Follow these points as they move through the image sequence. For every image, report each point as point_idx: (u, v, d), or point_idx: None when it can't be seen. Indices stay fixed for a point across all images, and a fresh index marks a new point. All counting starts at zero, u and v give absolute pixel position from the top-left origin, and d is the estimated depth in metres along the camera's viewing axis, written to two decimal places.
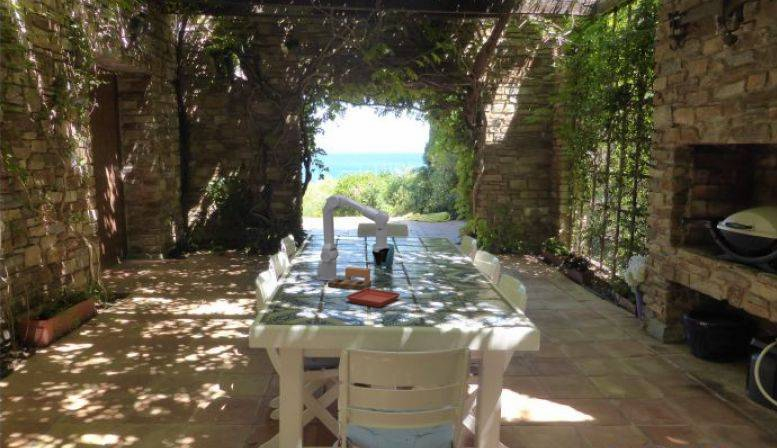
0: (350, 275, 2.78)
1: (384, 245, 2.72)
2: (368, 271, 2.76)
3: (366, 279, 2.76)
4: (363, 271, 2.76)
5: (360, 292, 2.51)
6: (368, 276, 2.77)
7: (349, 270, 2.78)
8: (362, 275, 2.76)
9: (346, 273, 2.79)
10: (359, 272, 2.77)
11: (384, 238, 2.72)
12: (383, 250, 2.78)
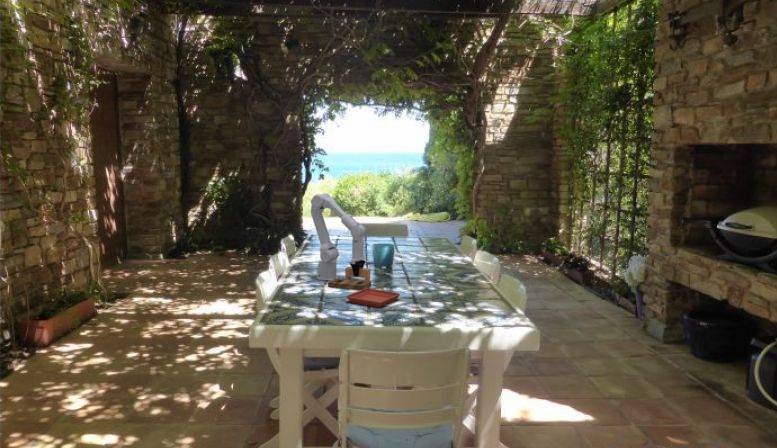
0: (350, 275, 2.78)
1: (360, 257, 2.76)
2: (368, 271, 2.76)
3: (366, 279, 2.76)
4: (363, 271, 2.76)
5: (360, 292, 2.51)
6: (368, 276, 2.77)
7: (349, 270, 2.78)
8: (362, 275, 2.76)
9: (346, 273, 2.79)
10: (359, 272, 2.77)
11: (360, 250, 2.75)
12: (359, 262, 2.80)
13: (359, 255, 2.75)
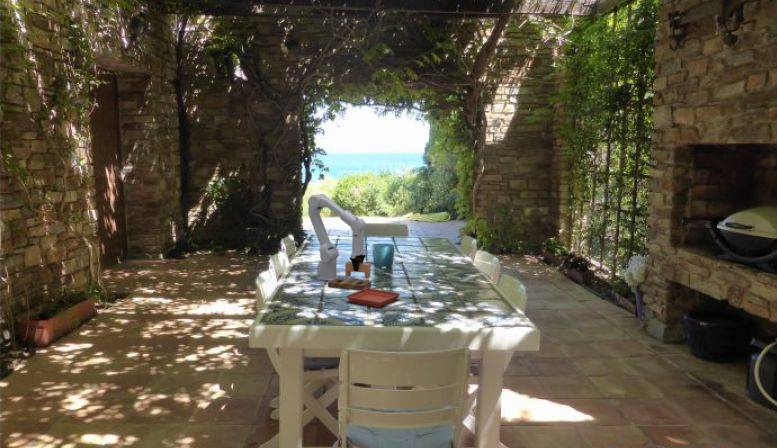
0: (350, 270, 2.78)
1: (360, 251, 2.75)
2: (368, 266, 2.76)
3: (366, 274, 2.76)
4: (363, 266, 2.75)
5: (360, 292, 2.51)
6: (368, 271, 2.76)
7: (349, 265, 2.78)
8: (362, 269, 2.76)
9: (346, 268, 2.78)
10: (359, 267, 2.76)
11: (360, 244, 2.75)
12: (359, 257, 2.80)
13: (359, 249, 2.75)
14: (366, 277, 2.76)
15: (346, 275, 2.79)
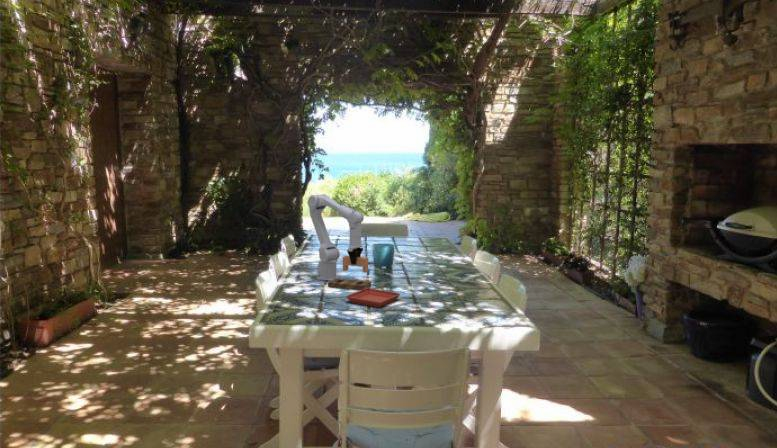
0: (348, 264, 2.74)
1: (358, 244, 2.71)
2: (366, 260, 2.72)
3: (364, 268, 2.71)
4: (361, 260, 2.71)
5: (360, 292, 2.51)
6: (366, 265, 2.72)
7: (346, 259, 2.73)
8: (360, 263, 2.72)
9: (343, 262, 2.74)
10: (357, 261, 2.72)
11: (358, 237, 2.70)
12: (356, 250, 2.76)
13: (356, 242, 2.70)
14: (364, 271, 2.72)
15: (343, 269, 2.75)
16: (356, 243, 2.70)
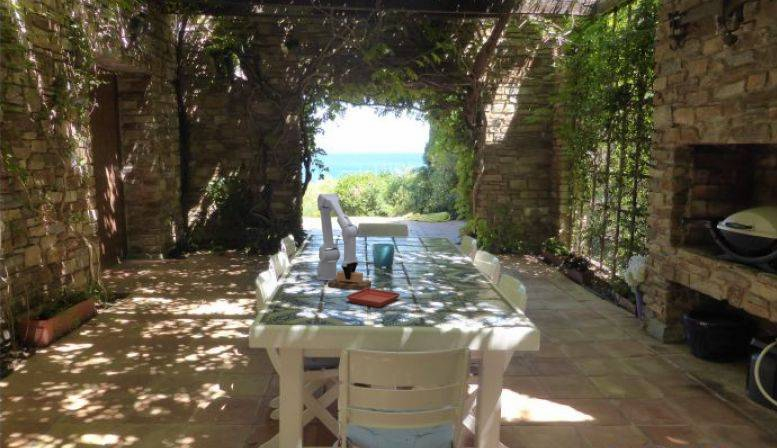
0: (342, 279, 2.68)
1: (352, 259, 2.65)
2: (360, 275, 2.66)
3: None
4: (355, 275, 2.65)
5: (360, 292, 2.51)
6: (360, 280, 2.66)
7: (340, 275, 2.68)
8: (354, 279, 2.66)
9: (338, 277, 2.68)
10: (351, 276, 2.66)
11: (352, 252, 2.65)
12: (351, 264, 2.70)
13: (351, 257, 2.65)
14: None
15: None
16: (350, 258, 2.65)
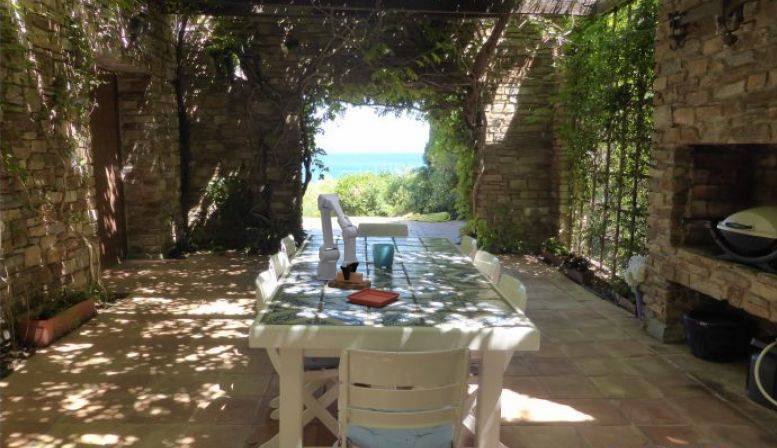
0: (342, 280, 2.68)
1: (352, 259, 2.65)
2: (360, 276, 2.66)
3: None
4: (355, 276, 2.65)
5: (360, 292, 2.51)
6: (360, 281, 2.66)
7: (340, 275, 2.68)
8: (354, 279, 2.66)
9: (338, 278, 2.68)
10: (351, 277, 2.66)
11: (352, 252, 2.65)
12: (352, 264, 2.71)
13: (351, 257, 2.65)
14: None
15: None
16: (350, 258, 2.65)
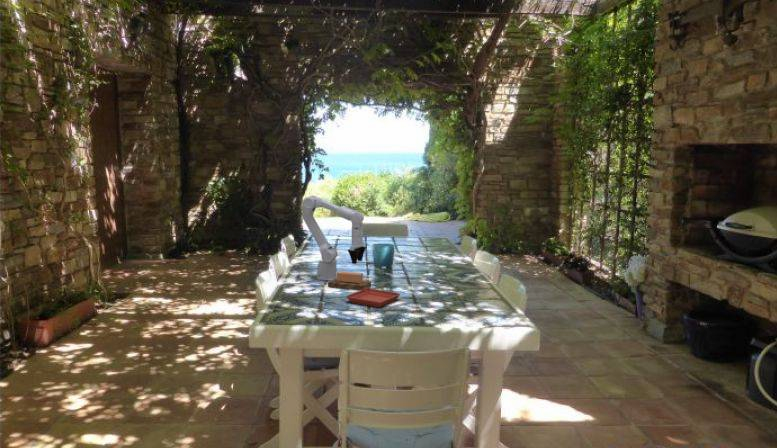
0: (342, 280, 2.68)
1: (360, 244, 2.79)
2: (360, 276, 2.66)
3: None
4: (355, 276, 2.65)
5: (360, 292, 2.51)
6: (360, 281, 2.66)
7: (340, 275, 2.68)
8: (354, 279, 2.66)
9: (338, 278, 2.68)
10: (351, 277, 2.66)
11: (360, 237, 2.78)
12: (359, 249, 2.85)
13: (358, 242, 2.78)
14: None
15: None
16: (358, 242, 2.78)
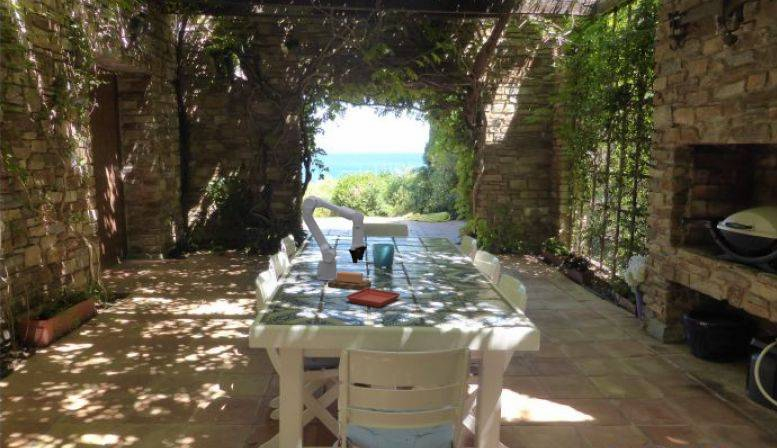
0: (342, 280, 2.68)
1: (360, 243, 2.80)
2: (360, 276, 2.66)
3: None
4: (355, 276, 2.65)
5: (360, 292, 2.51)
6: (360, 281, 2.66)
7: (340, 275, 2.68)
8: (354, 279, 2.66)
9: (338, 278, 2.68)
10: (351, 277, 2.66)
11: (360, 236, 2.80)
12: (360, 248, 2.86)
13: (359, 241, 2.80)
14: None
15: None
16: (359, 242, 2.80)
